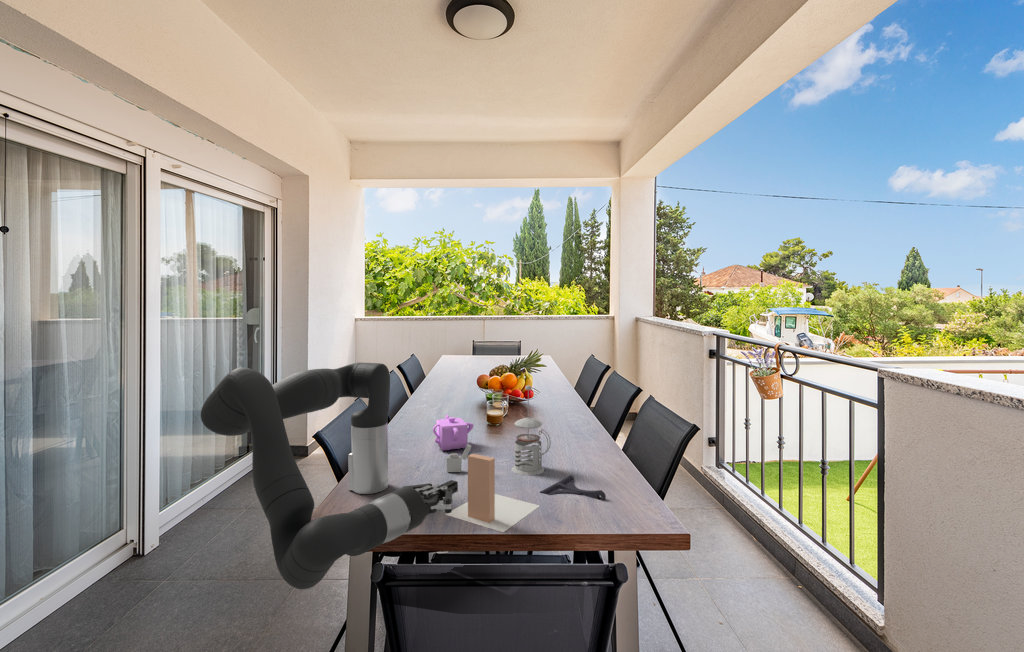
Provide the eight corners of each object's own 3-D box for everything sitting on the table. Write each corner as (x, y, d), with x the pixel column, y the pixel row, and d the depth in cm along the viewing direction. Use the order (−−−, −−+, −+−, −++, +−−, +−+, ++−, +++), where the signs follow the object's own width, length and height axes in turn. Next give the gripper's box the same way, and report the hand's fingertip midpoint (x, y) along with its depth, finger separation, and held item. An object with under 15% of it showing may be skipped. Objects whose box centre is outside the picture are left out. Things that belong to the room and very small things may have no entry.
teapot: (428, 441, 174) (428, 412, 174) (466, 437, 179) (466, 409, 178) (437, 456, 157) (437, 425, 157) (479, 452, 161) (479, 421, 161)
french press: (520, 462, 152) (520, 381, 150) (555, 467, 147) (556, 384, 145) (505, 472, 143) (505, 386, 141) (542, 478, 138) (543, 390, 136)
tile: (467, 516, 112) (467, 455, 112) (473, 512, 114) (473, 453, 113) (489, 522, 109) (489, 460, 108) (495, 519, 111) (495, 458, 110)
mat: (445, 516, 113) (445, 514, 113) (485, 493, 127) (485, 491, 127) (503, 535, 105) (503, 532, 105) (540, 508, 118) (540, 505, 118)
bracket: (590, 512, 118) (590, 501, 117) (539, 496, 127) (539, 486, 127) (617, 494, 129) (617, 483, 129) (568, 481, 138) (568, 471, 138)
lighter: (446, 472, 142) (446, 445, 142) (447, 470, 144) (447, 443, 144) (471, 472, 142) (471, 445, 142) (471, 470, 144) (471, 443, 144)
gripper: (368, 526, 92) (431, 496, 106) (420, 545, 85) (480, 510, 99) (367, 486, 92) (431, 461, 106) (420, 502, 84) (480, 473, 99)
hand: (455, 485), depth 103 cm, fingers closed
